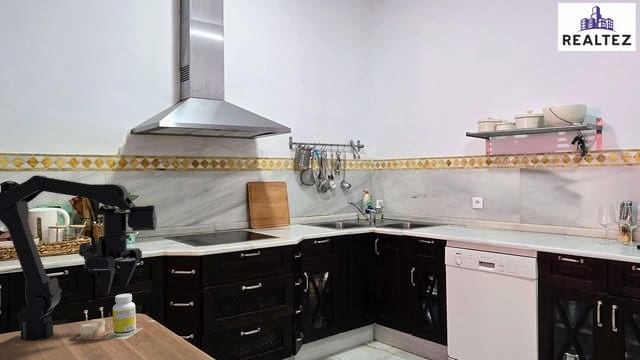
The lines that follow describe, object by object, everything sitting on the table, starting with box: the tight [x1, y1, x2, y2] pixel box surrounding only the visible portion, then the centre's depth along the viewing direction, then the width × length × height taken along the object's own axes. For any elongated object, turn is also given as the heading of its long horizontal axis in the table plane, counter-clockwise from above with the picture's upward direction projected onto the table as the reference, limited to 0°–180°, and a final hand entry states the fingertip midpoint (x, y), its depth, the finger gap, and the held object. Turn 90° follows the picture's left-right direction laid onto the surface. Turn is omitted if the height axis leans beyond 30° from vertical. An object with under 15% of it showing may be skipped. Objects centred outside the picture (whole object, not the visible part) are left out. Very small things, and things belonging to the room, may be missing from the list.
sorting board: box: [75, 327, 143, 340], centre depth 124 cm, size 14×10×1 cm
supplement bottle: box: [112, 293, 137, 336], centre depth 124 cm, size 5×5×10 cm
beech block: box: [80, 319, 106, 338], centre depth 123 cm, size 6×3×3 cm, turn 176°
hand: (115, 290), depth 126 cm, fingers open, 9 cm apart
